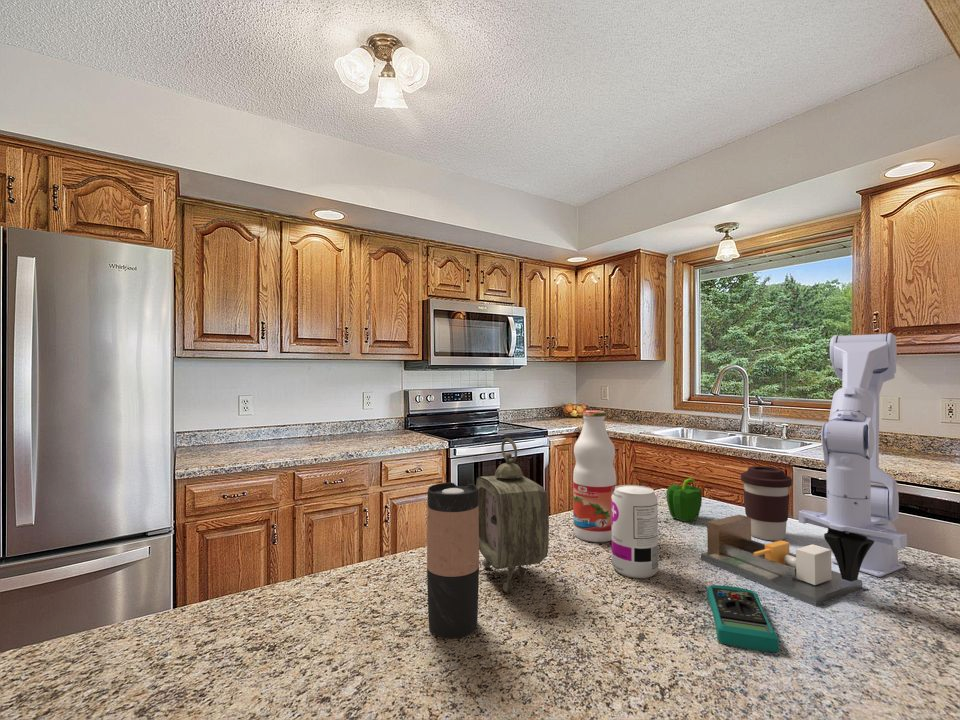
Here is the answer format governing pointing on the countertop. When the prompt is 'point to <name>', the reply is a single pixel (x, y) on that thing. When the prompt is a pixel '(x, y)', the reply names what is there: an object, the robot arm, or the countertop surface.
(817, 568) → the cream block with peg
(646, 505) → the supplement can
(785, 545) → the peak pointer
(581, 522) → the fruit juice
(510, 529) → the tabletop clock
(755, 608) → the digital multimeter
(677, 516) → the bell pepper
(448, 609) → the travel mug
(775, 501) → the coffee cup
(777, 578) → the base
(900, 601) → the countertop surface
